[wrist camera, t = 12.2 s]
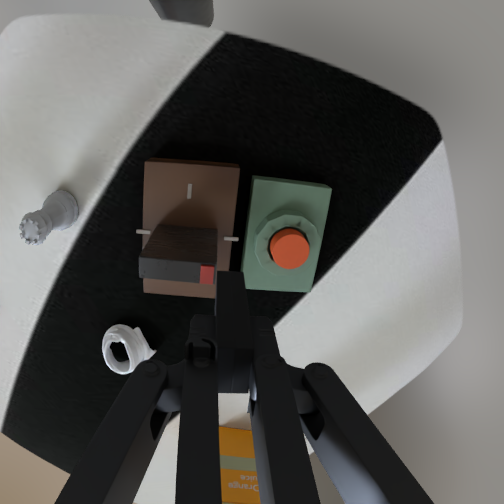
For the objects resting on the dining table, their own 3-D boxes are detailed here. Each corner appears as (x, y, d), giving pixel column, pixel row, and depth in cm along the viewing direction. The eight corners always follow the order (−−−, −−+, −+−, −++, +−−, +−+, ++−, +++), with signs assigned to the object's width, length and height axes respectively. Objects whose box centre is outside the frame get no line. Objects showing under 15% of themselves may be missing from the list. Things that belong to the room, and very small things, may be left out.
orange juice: (261, 431, 49) (276, 533, 31) (245, 455, 52) (255, 547, 34) (216, 425, 48) (221, 533, 30) (205, 450, 51) (206, 545, 33)
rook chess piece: (75, 185, 31) (40, 205, 24) (83, 223, 33) (53, 251, 26) (44, 193, 31) (6, 213, 24) (52, 229, 33) (19, 256, 25)
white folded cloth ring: (125, 364, 42) (119, 390, 38) (91, 336, 39) (81, 362, 35) (164, 344, 41) (160, 372, 36) (129, 312, 38) (120, 340, 33)
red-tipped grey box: (156, 240, 32) (138, 279, 24) (157, 223, 31) (138, 258, 23) (216, 246, 32) (215, 286, 25) (217, 229, 32) (217, 265, 24)
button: (272, 226, 31) (275, 232, 30) (308, 230, 32) (312, 236, 30) (267, 260, 33) (269, 268, 31) (301, 263, 33) (305, 270, 32)
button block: (252, 175, 33) (256, 182, 29) (325, 184, 34) (338, 192, 30) (239, 279, 37) (241, 297, 34) (306, 283, 38) (314, 300, 35)
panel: (145, 157, 31) (138, 161, 28) (244, 164, 32) (246, 169, 29) (143, 279, 36) (138, 292, 33) (230, 286, 38) (231, 300, 35)
